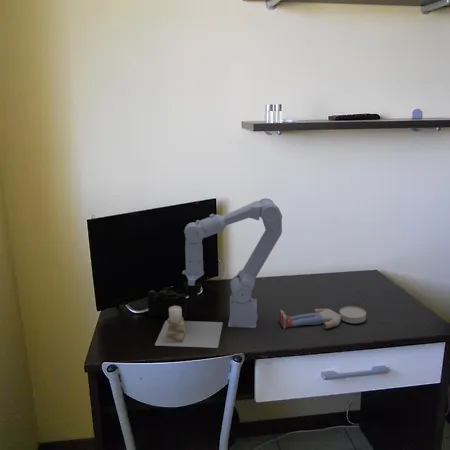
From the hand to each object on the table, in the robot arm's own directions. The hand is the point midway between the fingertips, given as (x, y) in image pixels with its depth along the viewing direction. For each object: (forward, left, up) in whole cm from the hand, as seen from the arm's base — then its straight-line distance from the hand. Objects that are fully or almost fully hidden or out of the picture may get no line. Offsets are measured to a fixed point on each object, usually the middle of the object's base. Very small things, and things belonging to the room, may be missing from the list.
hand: (195, 297), depth 164 cm
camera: (+11, -9, -11) cm, 17 cm away
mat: (+1, +6, -10) cm, 12 cm away
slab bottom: (+5, +10, -10) cm, 15 cm away
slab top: (+5, +10, -7) cm, 13 cm away
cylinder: (+5, +10, -4) cm, 12 cm away
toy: (-44, -6, -11) cm, 45 cm away
